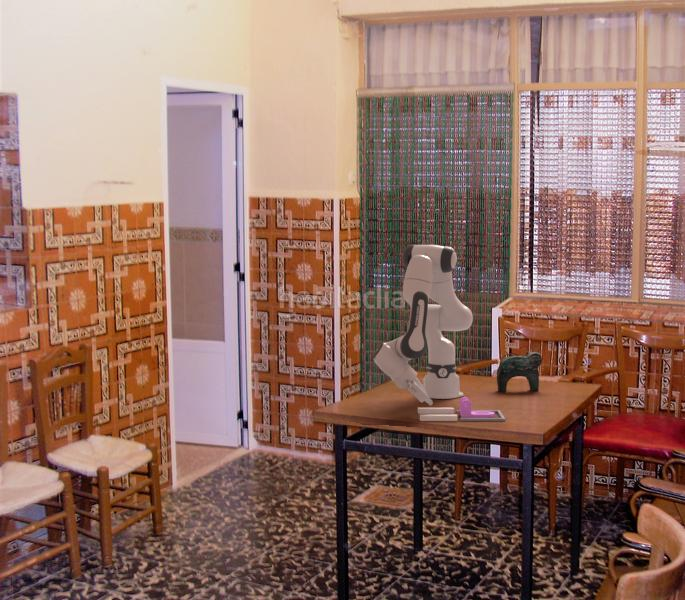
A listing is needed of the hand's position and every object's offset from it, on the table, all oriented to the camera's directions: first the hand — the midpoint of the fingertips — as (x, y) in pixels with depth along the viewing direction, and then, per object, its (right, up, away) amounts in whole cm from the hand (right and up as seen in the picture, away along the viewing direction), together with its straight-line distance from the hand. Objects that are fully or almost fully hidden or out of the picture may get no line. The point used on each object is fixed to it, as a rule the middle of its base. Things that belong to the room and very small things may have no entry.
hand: (431, 403), depth 376 cm
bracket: (+18, -5, +2) cm, 19 cm away
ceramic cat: (+43, 0, +52) cm, 67 cm away
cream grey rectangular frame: (+11, -5, +1) cm, 12 cm away
